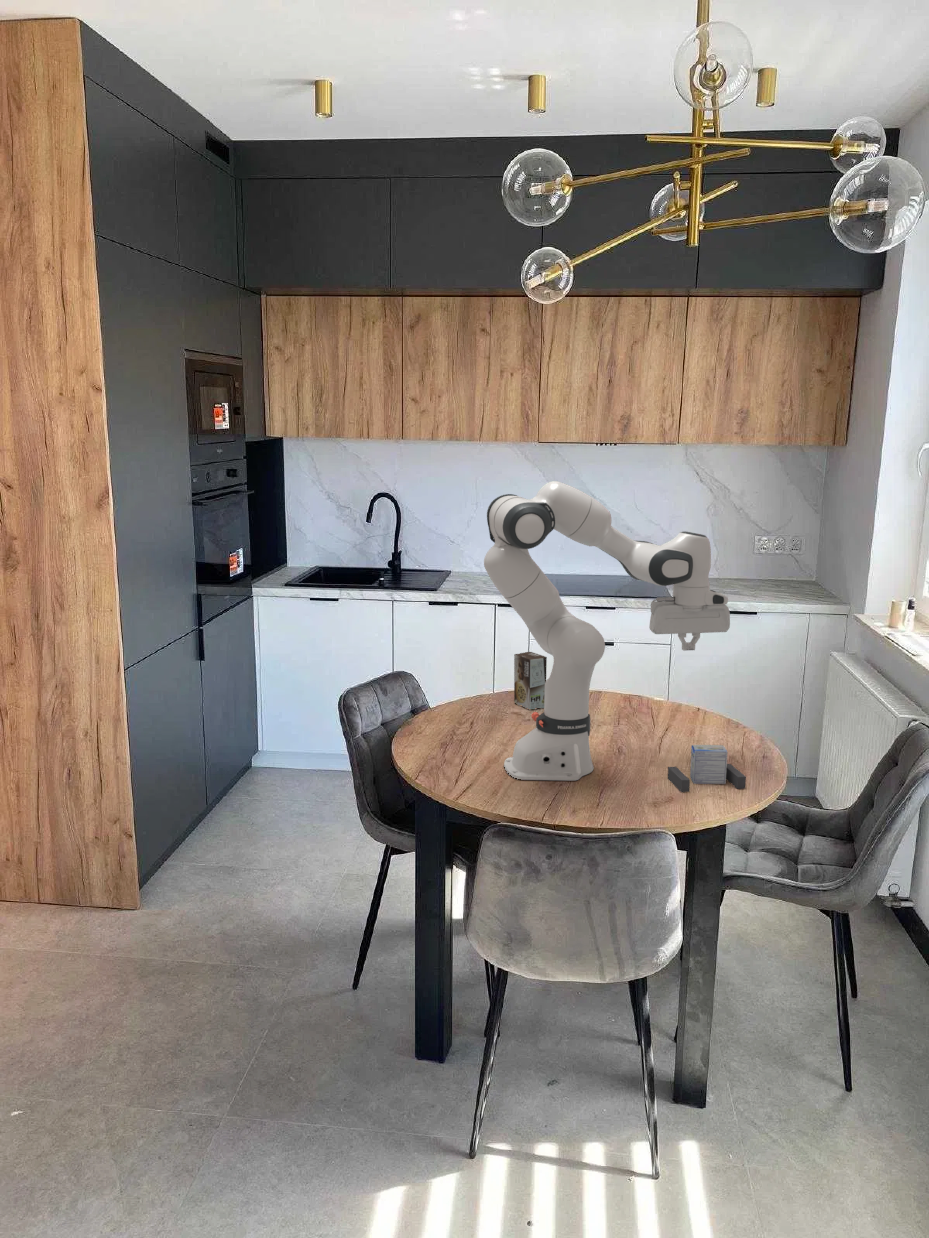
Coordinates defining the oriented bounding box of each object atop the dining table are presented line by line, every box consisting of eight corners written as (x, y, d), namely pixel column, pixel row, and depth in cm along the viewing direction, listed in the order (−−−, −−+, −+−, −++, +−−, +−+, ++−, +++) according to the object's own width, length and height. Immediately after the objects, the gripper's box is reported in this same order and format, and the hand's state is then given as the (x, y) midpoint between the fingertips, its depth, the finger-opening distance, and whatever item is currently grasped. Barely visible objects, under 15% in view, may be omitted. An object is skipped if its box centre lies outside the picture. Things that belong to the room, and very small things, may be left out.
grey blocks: (681, 792, 221) (681, 780, 221) (667, 778, 230) (668, 766, 230) (745, 788, 224) (746, 776, 223) (729, 775, 232) (730, 763, 232)
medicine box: (722, 778, 230) (723, 744, 229) (726, 784, 226) (728, 750, 224) (689, 777, 231) (691, 744, 229) (692, 784, 226) (694, 750, 225)
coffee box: (546, 707, 289) (547, 656, 286) (529, 710, 286) (530, 659, 283) (530, 700, 297) (530, 650, 293) (513, 703, 293) (513, 653, 290)
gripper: (655, 599, 231) (653, 654, 234) (734, 597, 234) (731, 651, 237) (646, 595, 237) (644, 648, 240) (723, 593, 240) (720, 645, 243)
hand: (688, 650), depth 238 cm, fingers closed
